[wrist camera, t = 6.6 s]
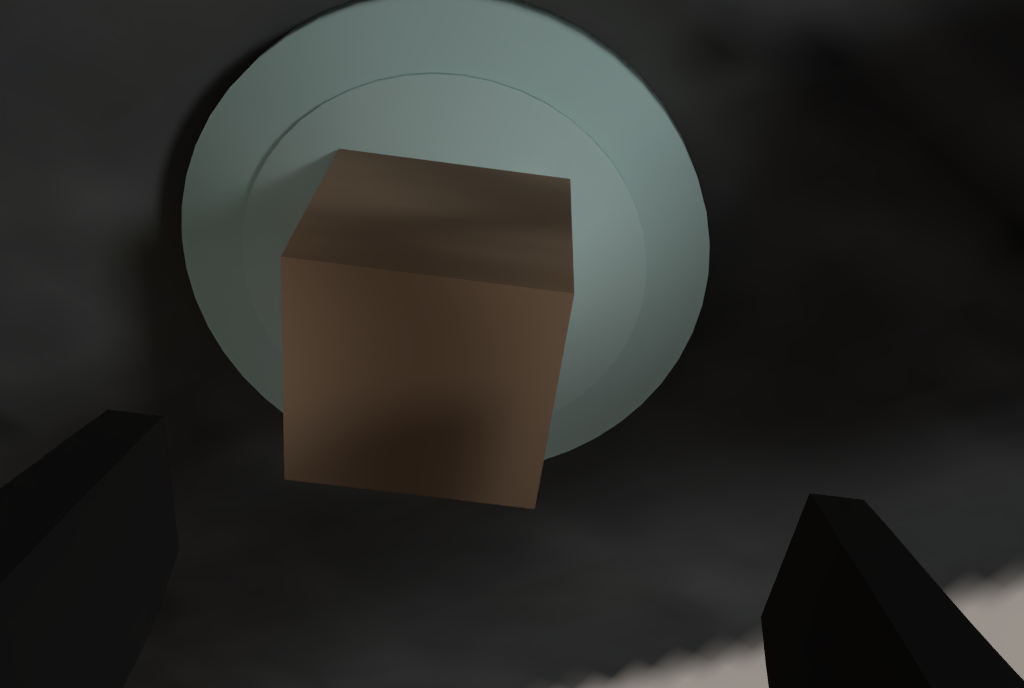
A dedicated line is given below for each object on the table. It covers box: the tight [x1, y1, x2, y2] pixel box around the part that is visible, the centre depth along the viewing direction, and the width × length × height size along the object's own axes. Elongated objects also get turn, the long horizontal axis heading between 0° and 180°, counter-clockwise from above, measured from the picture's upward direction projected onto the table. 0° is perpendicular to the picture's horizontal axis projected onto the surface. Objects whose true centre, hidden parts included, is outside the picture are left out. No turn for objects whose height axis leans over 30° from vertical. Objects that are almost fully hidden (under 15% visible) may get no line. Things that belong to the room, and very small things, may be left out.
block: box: [280, 149, 574, 509], centre depth 17 cm, size 4×4×4 cm
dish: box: [182, 0, 710, 460], centre depth 20 cm, size 11×11×1 cm
